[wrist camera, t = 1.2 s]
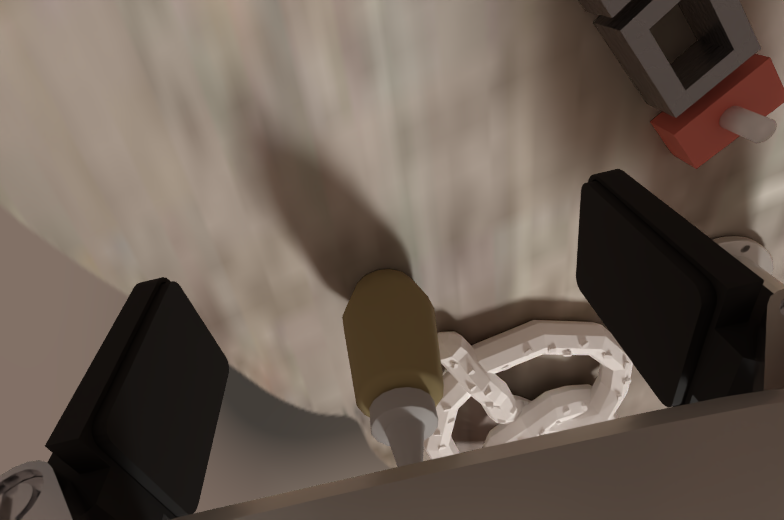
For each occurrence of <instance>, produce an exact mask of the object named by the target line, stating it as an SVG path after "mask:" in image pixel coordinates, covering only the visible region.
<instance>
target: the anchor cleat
mask: <svg viewBox="0 0 784 520" xmlns="http://www.w3.org/2000/svg"><path fill="white" fill-rule="evenodd" d="M783 103H784V87H783V85H782V83H781V81H780V78H779V76H778V74H777V72H776V69H775V67H774V65H773V63H772V61H771V58H770V57H766V56H762V55H758V54H754V55H752V56H751V57H750V58H749V59H748V60H746V61H745V62H744V63H743V64H741V65H740V66H739V67H738V68H737V69H735V70H734V71H733V72H732V73H730V74H729V75H728V76H727V77H726V78H724V79H723V80H722V81H721V82H719V83H718V84H717V85H716V86H715V87H713V88H712V89H711V90H710V91H708V92H707V93H706V94H705V95H704V96H702V97H701V98H700V99H699V100H697V101H696V102H695V103H694V104H693V105H691V106H690V107H689V108H688V109H686V110H685V111H684V112H683V113H682V114H680V115H679V116H678V117H677V118H675V117H673V116H671V115H669V114H667V113H665V112H663V111H662V112H661V113H660V114H659V115H657V116H656V117H655V118H654V119H653V120H651V121H650V122H651V124H652V125H653V127H654V128H655V130H656V131H657V133H658V134H659V136H660V137H661V139H662V140H663V141H664V143H665V144H666V146H667V147H668V149H669V150H670V152H671V153H672V154H673V155H674V156H676V157H678V158H679V159H681V160H683V161H684V162H686V163H688V164H689V165H691V166H692V167H694V168H696V169H697V168H698V167H700V166H701V165H702V164H704V163H705V162H706V161H708V160H709V159H710V158H711V157H713V156H714V155H715V154H717V153H718V152H719V151H721V150H722V149H723V148H725V147H726V146H727V145H729V144H730V143H731V142H733V141H734V140H735V139H736V138H738V137H739V136H742V137H744V138H746V139H748V140H750V141H752V142H755V143H761V142H764V141H766V140H767V139H769V138H770V137H771V136H772V135H773V133H774V132H775V130H776V126H777V124H776V121H775V120H773V119H770V118H768V117H765V116H767V115H768V114H769V113H771V112H772V111H773V110H775V109H776V108H777V107H779V106H780V105H781V104H783Z"/></svg>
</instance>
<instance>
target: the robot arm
mask: <svg viewBox="0 0 784 520" xmlns="http://www.w3.org/2000/svg"><path fill="white" fill-rule="evenodd" d="M772 273H773V259H772V257H771V254H770V253H769V251H768V250H767V249H766V248H765V247H764V246H762V245H761V244H759V243H758V242H756V241H755V240H752V239H749V238H747V237H740V236H727V237H720V238H716V239H710V238H709V237H708V236H707V235H705V234H704V233H703V232H701V231H700V230H699V229H697V228H696V227H695V226H694V225H692V224H691V223H690V222H688V221H687V220H686V219H685V218H683V217H682V216H681V215H679V214H678V213H677V212H675V211H674V210H673V209H672V208H670V207H669V206H668V205H666V204H665V203H664V202H663V201H661V200H660V199H659V198H657V197H656V196H655V195H653V194H652V193H651V192H650V191H648V190H647V189H646V188H644V187H643V186H642V185H641V184H639V183H638V182H637V181H635V180H634V179H633V178H631V177H630V176H629V175H628V174H626V173H625V172H624V171H622V170H620V169H615V170H611V171H607V172H602V173H598V174H594V175H592V176H591V177H590V178H589V180H588V183H584V184H583V186H582V189H581V202H580V218H579V235H578V251H577V268H576V280H577V284H578V287H579V289H580V291H581V292H582V294H583V295H584V297H585V298H586V299H587V301H588V302H589V303H590V305H591V306H592V308H593V309H594V310H595V312H596V313H597V315H598V316H599V317H600V319H601V320H602V321H603V323H604V324H605V326H606V327H607V328H608V330H609V331H610V332H611V334H612V335H613V337H614V338H615V339H616V341H617V342H618V343H619V345H620V346H621V348H622V349H623V350H624V352H625V353H626V354H627V356H628V357H629V359H630V360H631V361H632V363H633V364H634V366H635V367H636V368H637V370H638V371H639V372H640V374H641V375H642V377H643V378H644V379H645V381H646V382H647V383H648V385H649V386H650V388H651V389H652V390H653V392H654V393H655V394H656V396H657V397H658V399H659V400H660V401H661V402H662V404H664V405H665V406H667V407H671V408H666V409H661V410H656V411H651V412H646V413H641V414H636V415H631V416H626V417H622V418H617V419H613V420H608V421H604V422H599V423H594V424H590V425H585V426H581V427H576V428H572V429H567V430H563V431H558V432H553V433H549V434H544V435H540V436H535V437H531V438H526V439H521V440H517V441H512V442H508V443H503V444H499V445H494V446H490V447H485V448H481V449H476V450H472V451H467V452H463V453H458V454H454V455H449V456H445V457H440V458H436V459H431V460H427V461H423V462H418V463H414V464H409V465H405V466H400V467H396V468H391V469H387V470H383V471H378V472H374V473H369V474H365V475H360V476H356V477H351V478H347V479H343V480H338V481H334V482H330V483H325V484H320V485H316V486H312V487H308V488H303V489H299V490H294V491H290V492H286V493H282V494H277V495H273V496H269V497H264V498H260V499H256V500H251V501H247V502H242V503H238V504H234V505H229V506H225V507H221V508H216V509H212V510H208V511H204V512H199V513H195V514H193V513H194V512H195V511H196V509H197V506H198V503H199V499H200V495H201V490H202V486H203V482H204V477H205V473H206V469H207V464H208V460H209V456H210V451H211V447H212V443H213V438H214V434H215V429H216V425H217V421H218V417H219V412H220V408H221V404H222V399H223V395H224V391H225V386H226V382H227V378H228V373H229V365H228V361H227V358H226V356H225V355H224V353H223V352H222V350H221V349H220V347H219V346H218V344H217V343H216V341H215V339H214V338H213V336H212V335H211V333H210V332H209V330H208V329H207V327H206V325H205V324H204V322H203V321H202V319H201V318H200V316H199V315H198V313H197V312H196V310H195V308H194V307H193V305H192V304H191V302H190V301H189V299H188V298H187V296H186V294H185V293H184V291H183V290H182V288H181V287H180V285H179V284H178V283H177V282H174V281H172V282H170V280H168V279H167V278H164V277H162V278H158V279H154V280H149V281H145V282H141V283H138V284H136V286H135V287H134V288H133V290H132V292H131V294H130V296H129V297H128V299H127V301H126V303H125V305H124V306H123V308H122V310H121V312H120V313H119V315H118V317H117V319H116V321H115V322H114V324H113V326H112V328H111V329H110V331H109V333H108V335H107V336H106V338H105V340H104V342H103V344H102V346H101V347H100V349H99V351H98V353H97V354H96V356H95V358H94V360H93V361H92V363H91V365H90V367H89V368H88V370H87V372H86V374H85V376H84V377H83V379H82V381H81V383H80V385H79V386H78V388H77V390H76V392H75V393H74V395H73V397H72V399H71V401H70V402H69V404H68V406H67V408H66V410H65V411H64V413H63V415H62V416H61V419H60V420H59V422H58V424H57V425H56V427H55V429H54V431H53V432H52V434H51V436H50V438H49V440H48V441H47V443H46V445H45V447H47V448H48V449H49V450H50V451H51V452H53V453H52V455H51V457H50V459H49V461H48V462H44V461H39V460H38V461H31V462H26V463H24V464H21V465H19V466H16V467H14V468H12V469H10V470H9V471H7V472H6V473H4V474H2V475H1V476H0V520H784V284H783V283H781V282H780V281H779V280H777V279H776V278H775V277H773V276H772ZM672 406H673V407H672Z"/></svg>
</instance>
